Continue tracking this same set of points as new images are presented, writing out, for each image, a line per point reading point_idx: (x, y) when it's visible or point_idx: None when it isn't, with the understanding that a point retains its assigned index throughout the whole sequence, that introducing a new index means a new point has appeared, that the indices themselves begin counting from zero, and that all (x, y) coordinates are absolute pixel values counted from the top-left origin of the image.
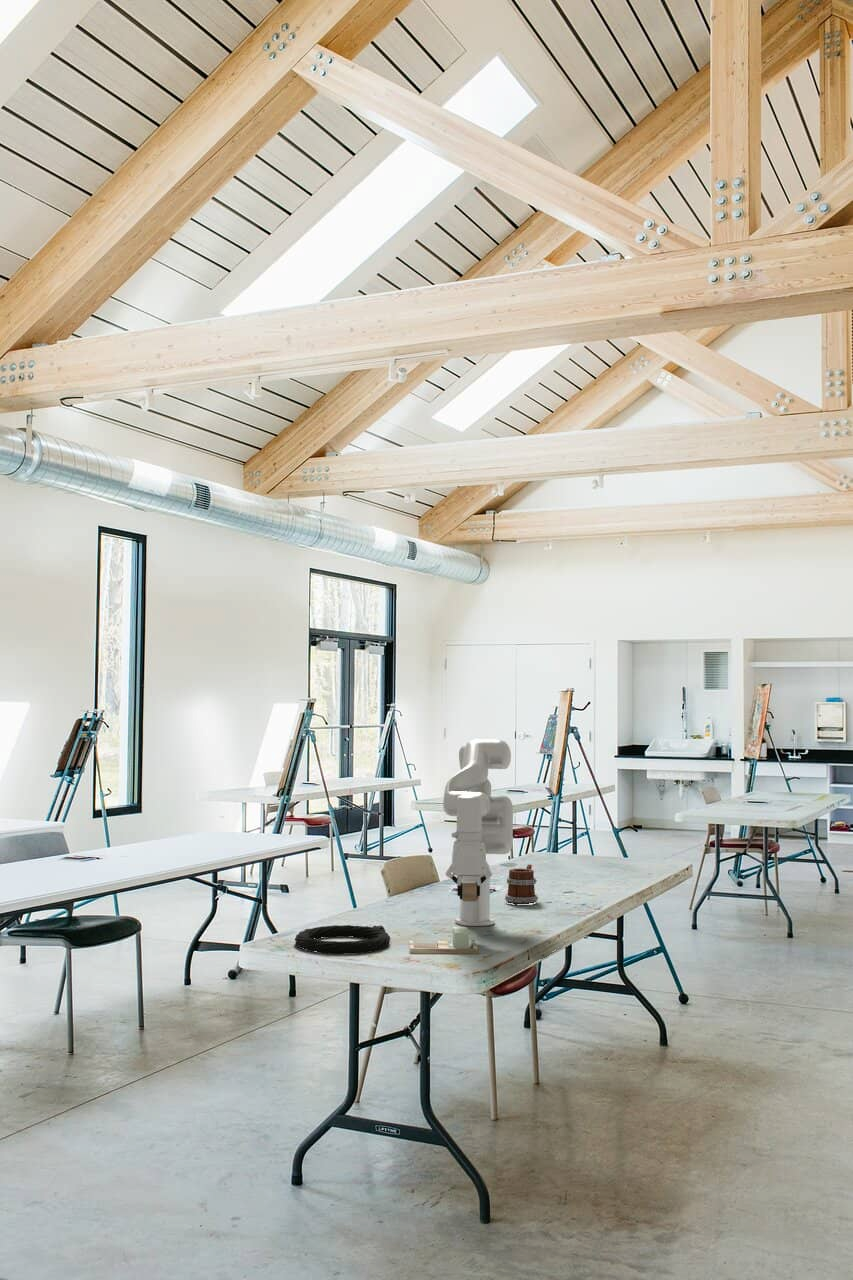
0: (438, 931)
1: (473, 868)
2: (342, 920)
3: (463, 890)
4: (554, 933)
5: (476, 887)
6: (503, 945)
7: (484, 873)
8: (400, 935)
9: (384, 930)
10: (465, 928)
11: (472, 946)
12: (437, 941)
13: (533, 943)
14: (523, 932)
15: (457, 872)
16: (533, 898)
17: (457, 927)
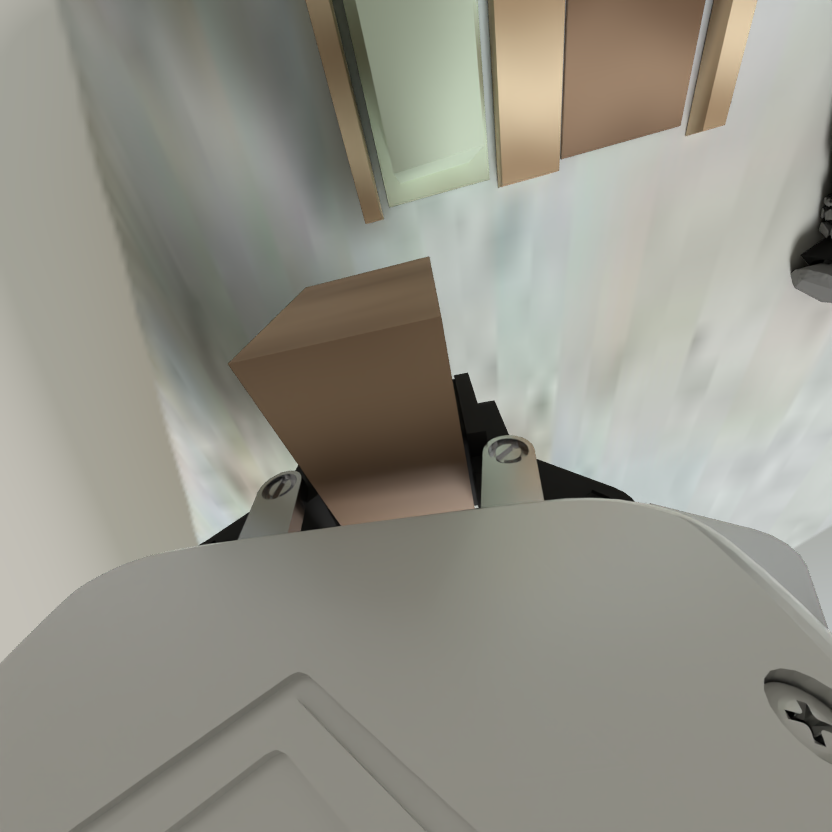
0: (530, 431)
1: (176, 710)
2: (814, 507)
3: (429, 285)
4: (186, 473)
5: (253, 342)
6: (237, 230)
7: (74, 593)
8: (691, 336)
9: (826, 271)
10: (388, 90)
11: (350, 84)
12: (559, 103)
13: (151, 311)
14: (272, 468)
15: (626, 545)
16: None
17: (450, 122)
